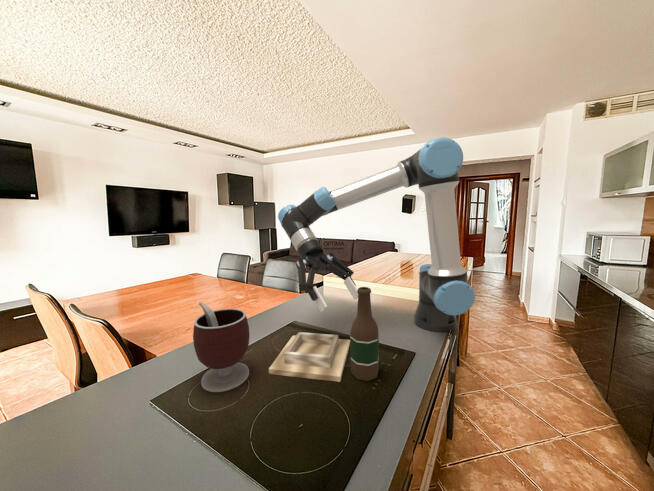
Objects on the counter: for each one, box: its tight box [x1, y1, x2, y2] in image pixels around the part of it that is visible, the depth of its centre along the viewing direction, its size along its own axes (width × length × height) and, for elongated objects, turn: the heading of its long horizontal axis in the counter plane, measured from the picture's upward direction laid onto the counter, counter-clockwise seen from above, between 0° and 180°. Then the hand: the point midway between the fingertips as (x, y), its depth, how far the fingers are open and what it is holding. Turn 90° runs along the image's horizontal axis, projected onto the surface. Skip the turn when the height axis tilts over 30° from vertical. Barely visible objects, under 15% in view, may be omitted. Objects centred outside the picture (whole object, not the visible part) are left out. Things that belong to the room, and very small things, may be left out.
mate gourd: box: [192, 301, 250, 393], centre depth 72 cm, size 16×14×20 cm
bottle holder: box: [268, 331, 350, 383], centre depth 81 cm, size 20×20×4 cm
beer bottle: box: [349, 286, 380, 382], centre depth 72 cm, size 8×8×24 cm
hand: (342, 302), depth 76 cm, fingers open, 13 cm apart
